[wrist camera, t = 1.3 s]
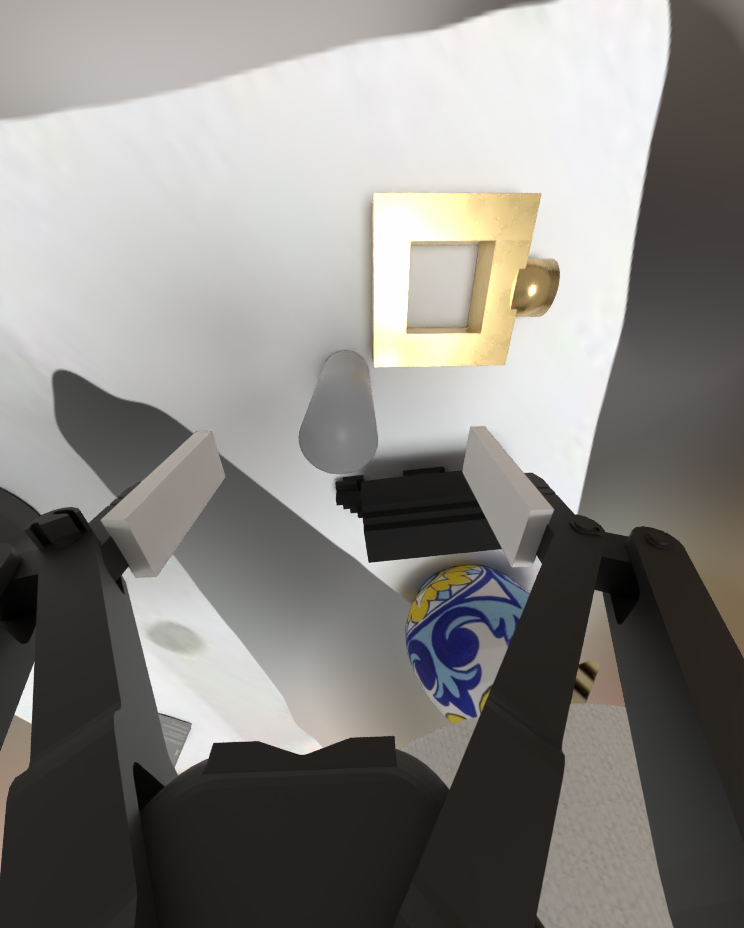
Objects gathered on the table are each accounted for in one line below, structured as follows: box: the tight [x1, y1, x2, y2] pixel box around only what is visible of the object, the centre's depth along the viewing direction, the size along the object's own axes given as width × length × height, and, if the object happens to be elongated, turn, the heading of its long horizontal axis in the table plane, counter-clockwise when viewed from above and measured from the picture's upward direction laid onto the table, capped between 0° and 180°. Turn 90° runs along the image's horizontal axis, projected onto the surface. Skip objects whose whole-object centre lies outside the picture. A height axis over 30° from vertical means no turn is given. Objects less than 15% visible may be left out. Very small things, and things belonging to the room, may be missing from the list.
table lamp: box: [400, 565, 673, 928], centre depth 30 cm, size 27×27×40 cm
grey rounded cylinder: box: [299, 350, 378, 474], centre depth 23 cm, size 4×4×14 cm
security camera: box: [336, 467, 502, 563], centre depth 31 cm, size 7×18×10 cm, turn 96°
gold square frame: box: [372, 193, 560, 367], centre depth 24 cm, size 14×11×4 cm
